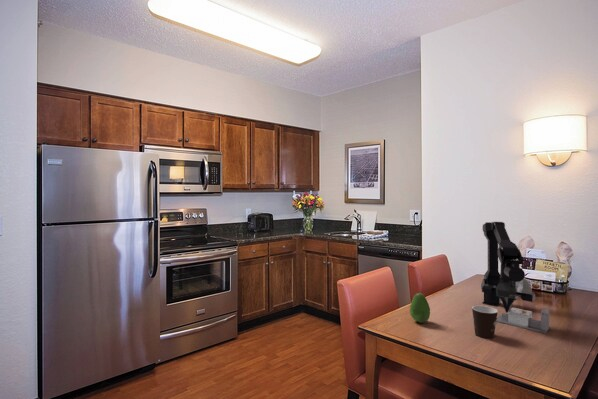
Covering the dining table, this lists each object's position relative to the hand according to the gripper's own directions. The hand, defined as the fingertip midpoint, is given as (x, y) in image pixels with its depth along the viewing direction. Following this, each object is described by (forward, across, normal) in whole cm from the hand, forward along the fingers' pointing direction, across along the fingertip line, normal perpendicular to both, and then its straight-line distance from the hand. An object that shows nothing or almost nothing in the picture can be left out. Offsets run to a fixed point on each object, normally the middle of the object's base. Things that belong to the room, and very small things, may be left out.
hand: (507, 312), depth 147 cm
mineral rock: (+4, -6, +53) cm, 54 cm away
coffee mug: (+4, -2, -21) cm, 21 cm away
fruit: (+4, -26, -27) cm, 38 cm away
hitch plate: (+4, +5, 0) cm, 6 cm away
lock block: (+3, +5, 0) cm, 6 cm away
